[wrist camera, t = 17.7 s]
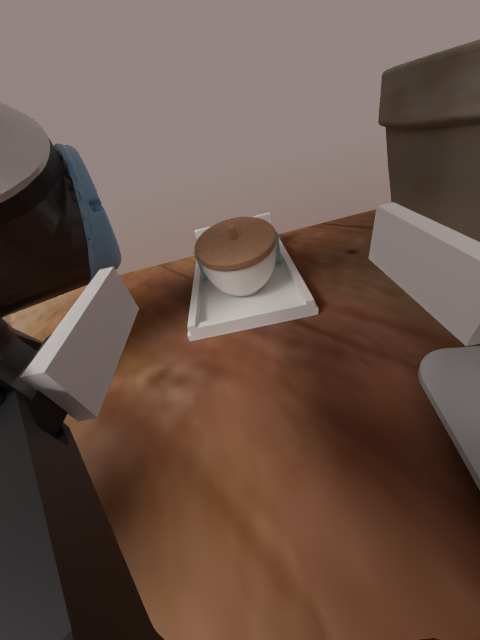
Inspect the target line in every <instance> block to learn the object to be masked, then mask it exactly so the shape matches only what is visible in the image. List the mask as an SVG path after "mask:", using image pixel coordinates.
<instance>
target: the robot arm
mask: <svg viewBox="0 0 480 640" xmlns="http://www.w3.org/2000/svg"><path fill="white" fill-rule="evenodd" d="M368 259H369V260H371V261H372V262H373V263H374V264H375V265H376V266H377V267H378V268H379V269H381V270H382V271H383V272H384V273H385V274H386V275H387V276H388V277H389V278H391V279H392V280H393V281H394V282H395V283H396V284H397V285H398V286H399V287H401V288H402V289H403V290H404V291H405V292H406V293H407V294H408V295H409V296H411V297H412V298H413V299H414V300H415V301H416V302H417V303H418V304H420V305H421V306H422V307H423V308H424V309H425V310H426V311H427V312H428V313H430V314H431V315H432V316H433V317H434V318H435V319H436V320H437V321H438V322H440V323H441V324H442V325H443V326H444V327H445V328H446V329H447V330H448V331H450V332H451V333H452V334H453V335H454V336H455V337H456V338H457V339H458V340H460V341H461V342H462V343H463V344H464V345H465V346H470V345H475V344H480V241H478V240H474V239H472V238H470V237H468V236H465V235H463V234H461V233H459V232H457V231H455V230H453V229H450V228H448V227H446V226H444V225H442V224H440V223H437V222H435V221H433V220H431V219H429V218H427V217H425V216H422V215H420V214H418V213H416V212H414V211H412V210H409V209H407V208H405V207H403V206H401V205H399V204H396V203H394V202H391V203H387V204H383V205H378V206H377V208H376V215H375V221H374V227H373V233H372V239H371V246H370V252H369V258H368ZM120 263H121V253H120V250H119V246H118V243H117V240H116V238H115V235H114V232H113V230H112V227H111V225H110V222H109V220H108V217H107V215H106V213H105V210H104V208H103V207H102V206H101V201H100V199H99V197H98V194H97V191H96V189H95V186H94V184H93V182H92V180H91V177H90V175H89V173H88V171H87V169H86V167H85V165H84V163H83V161H82V159H81V157H80V155H79V154H78V152H77V150H76V149H75V148H73V147H72V146H69V145H62V144H55V146H53V144H52V143H51V141H50V139H49V138H48V136H47V134H46V133H45V131H44V130H43V128H42V127H41V126H40V125H39V124H38V123H37V122H36V121H35V120H34V119H33V118H31V117H29V116H28V115H26V114H24V113H22V112H20V111H17V110H15V109H13V108H11V107H9V106H7V105H5V104H3V103H1V102H0V640H164V639H163V638H162V637H161V636H160V635H159V634H158V633H157V632H156V630H155V629H154V627H153V625H152V623H151V621H150V619H149V617H148V614H147V612H146V610H145V607H144V605H143V603H142V600H141V598H140V595H139V593H138V591H137V588H136V586H135V583H134V581H133V579H132V576H131V574H130V572H129V569H128V567H127V564H126V562H125V560H124V557H123V555H122V552H121V550H120V548H119V545H118V543H117V540H116V538H115V536H114V533H113V531H112V529H111V526H110V524H109V521H108V519H107V517H106V514H105V512H104V509H103V507H102V505H101V502H100V500H99V498H98V495H97V493H96V490H95V488H94V486H93V483H92V481H91V478H90V476H89V474H88V471H87V469H86V466H85V464H84V462H83V459H82V457H81V455H80V452H79V450H78V447H77V445H76V443H75V440H74V438H73V435H72V433H71V431H70V428H69V427H68V426H67V425H66V424H65V423H63V421H64V419H65V417H66V415H67V413H68V414H69V415H70V416H72V417H73V418H74V419H75V420H77V421H83V420H88V419H93V418H98V415H99V413H100V410H101V407H102V405H103V402H104V400H105V397H106V394H107V392H108V389H109V386H110V384H111V381H112V378H113V376H114V373H115V371H116V368H117V365H118V363H119V360H120V357H121V355H122V352H123V350H124V347H125V344H126V342H127V339H128V336H129V334H130V331H131V328H132V326H133V323H134V321H135V318H136V315H137V313H138V310H139V308H138V306H137V305H136V303H135V301H134V300H133V298H132V296H131V295H130V293H129V291H128V289H127V288H126V286H125V284H124V283H123V281H122V279H121V278H120V276H119V274H118V273H117V271H116V269H117V268H118V267H119V265H120ZM85 285H88V286H87V287H86V289H85V290H84V291H83V293H82V294H81V295H80V297H79V298H78V299H77V301H76V302H75V303H74V305H73V306H72V308H71V309H70V310H69V312H68V313H67V314H66V316H65V317H64V318H63V320H62V321H61V322H60V324H59V325H58V327H57V328H56V329H55V331H54V332H53V333H52V334H51V335H50V336H48V337H47V338H46V340H45V341H44V342H42V341H40V340H37V339H35V338H33V337H31V336H29V335H27V334H25V333H23V332H20V331H18V330H16V329H14V328H13V327H11V326H10V325H9V324H8V323H7V322H6V321H4V320H3V319H2V317H4V316H7V315H10V314H12V313H15V312H17V311H20V310H23V309H25V308H28V307H31V306H33V305H36V304H38V303H41V302H44V301H46V300H49V299H51V298H54V297H57V296H59V295H62V294H64V293H67V292H70V291H72V290H75V289H77V288H80V287H83V286H85ZM422 640H438V639H435V638H430V639H422Z"/></svg>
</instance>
